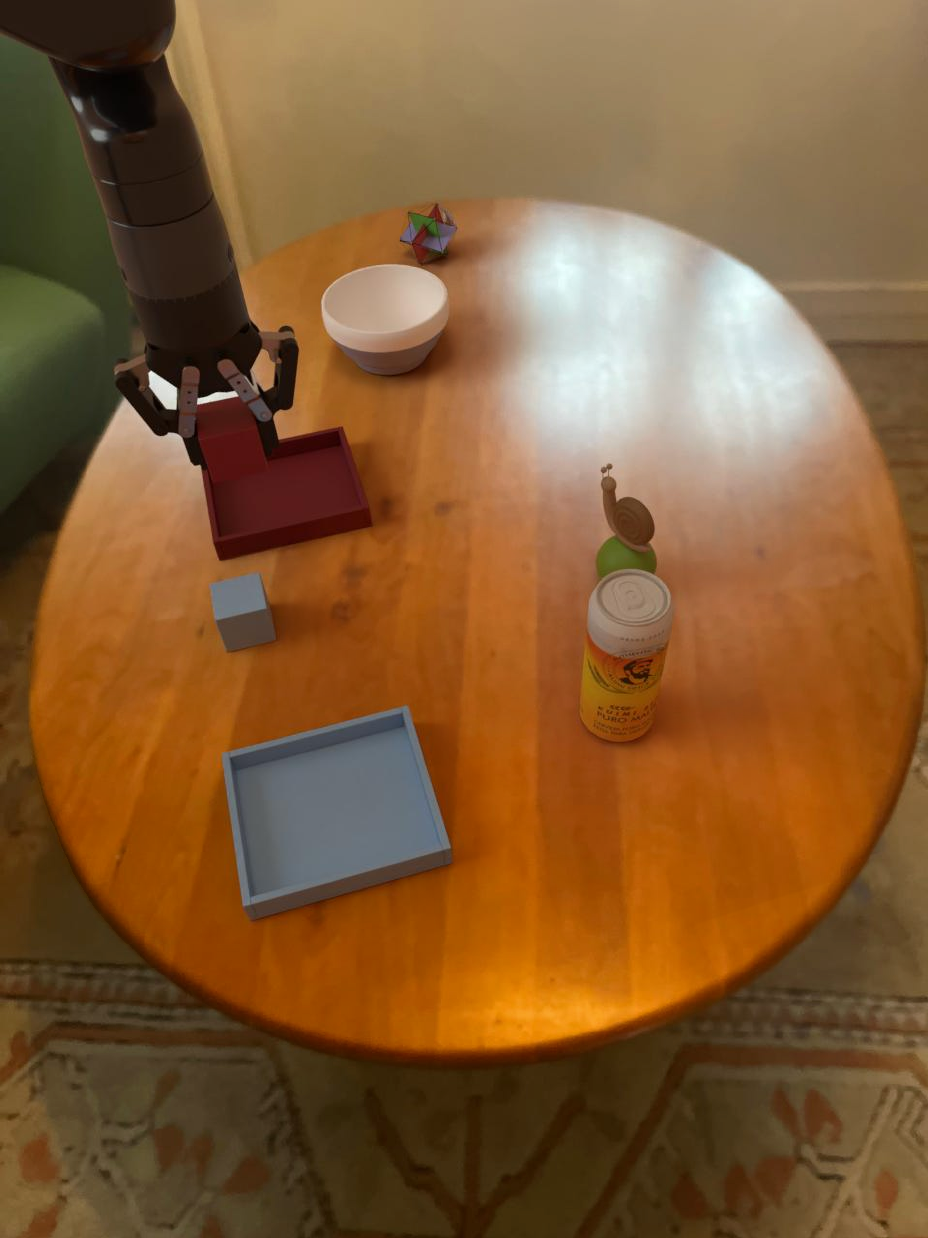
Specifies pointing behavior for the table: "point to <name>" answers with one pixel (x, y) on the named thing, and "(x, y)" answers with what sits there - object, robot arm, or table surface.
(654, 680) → the beer can
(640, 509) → the snail figurine
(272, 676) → the table surface
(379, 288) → the bowl
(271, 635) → the blue block
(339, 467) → the burgundy tray
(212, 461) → the burgundy block
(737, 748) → the table surface
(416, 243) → the geometric puzzle
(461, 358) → the table surface
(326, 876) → the blue tray
